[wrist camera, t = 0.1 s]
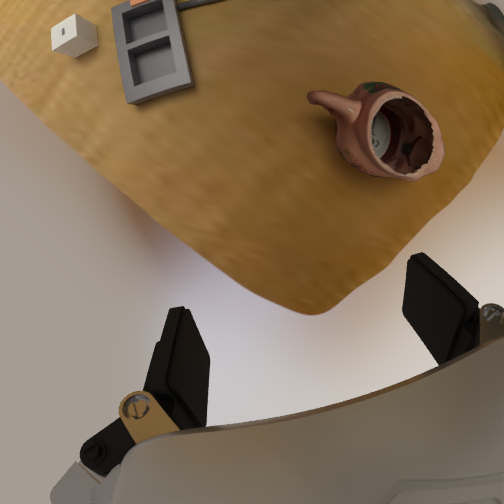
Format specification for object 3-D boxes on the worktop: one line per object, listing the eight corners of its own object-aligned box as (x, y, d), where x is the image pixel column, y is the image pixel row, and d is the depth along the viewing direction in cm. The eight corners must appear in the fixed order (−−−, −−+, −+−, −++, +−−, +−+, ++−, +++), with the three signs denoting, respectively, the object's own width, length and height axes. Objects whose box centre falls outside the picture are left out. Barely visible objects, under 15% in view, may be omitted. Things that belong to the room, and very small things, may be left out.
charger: (73, 37, 26) (50, 28, 20) (95, 25, 26) (74, 13, 19) (75, 57, 28) (51, 50, 21) (98, 45, 28) (76, 35, 21)
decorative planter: (280, 146, 37) (303, 156, 25) (299, 69, 32) (330, 43, 20) (395, 182, 40) (447, 207, 28) (412, 115, 35) (469, 119, 23)
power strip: (119, 15, 26) (110, 6, 22) (222, -16, 25) (221, -28, 22) (135, 104, 33) (125, 103, 29) (245, 74, 32) (246, 68, 29)
